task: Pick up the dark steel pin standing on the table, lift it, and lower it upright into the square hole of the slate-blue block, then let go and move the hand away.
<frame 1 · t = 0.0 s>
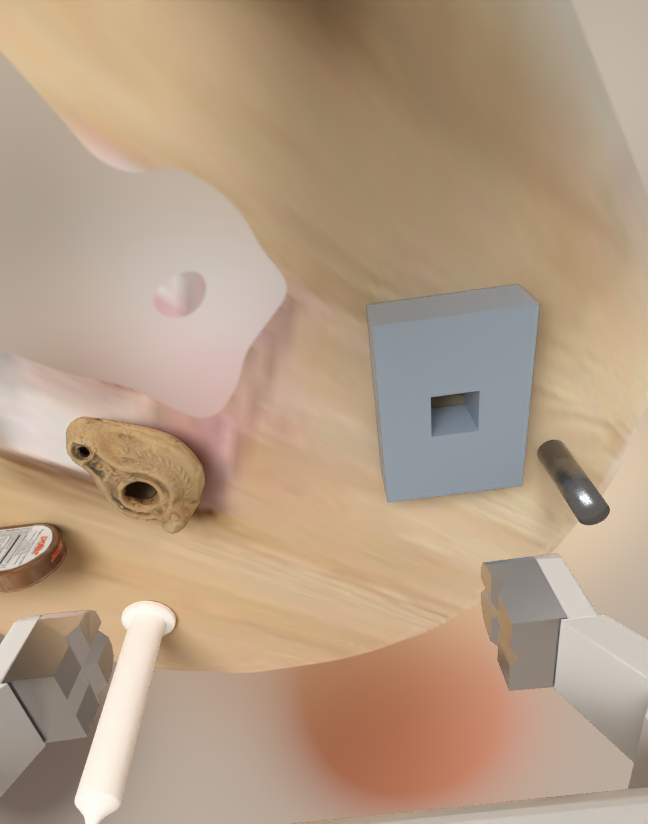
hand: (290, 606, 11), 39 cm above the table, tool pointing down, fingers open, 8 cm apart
candle: (150, 615, 71), on the table
peg: (551, 450, 58), on the table
hole block: (442, 388, 53), on the table
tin: (12, 530, 62), on the table
oil lamp: (144, 449, 56), on the table
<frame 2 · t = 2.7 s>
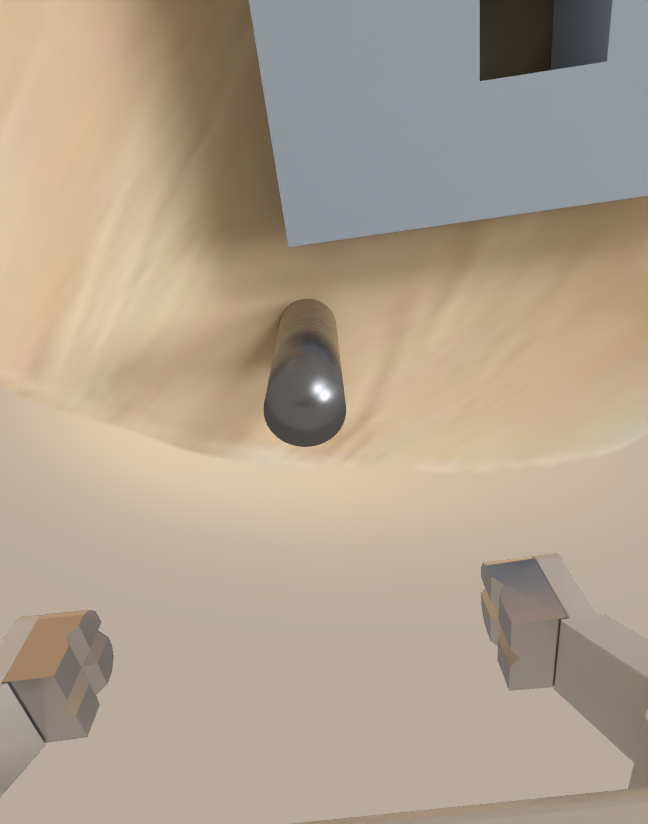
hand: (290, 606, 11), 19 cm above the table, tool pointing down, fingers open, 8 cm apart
peg: (307, 326, 28), on the table
hole block: (499, 24, 22), on the table
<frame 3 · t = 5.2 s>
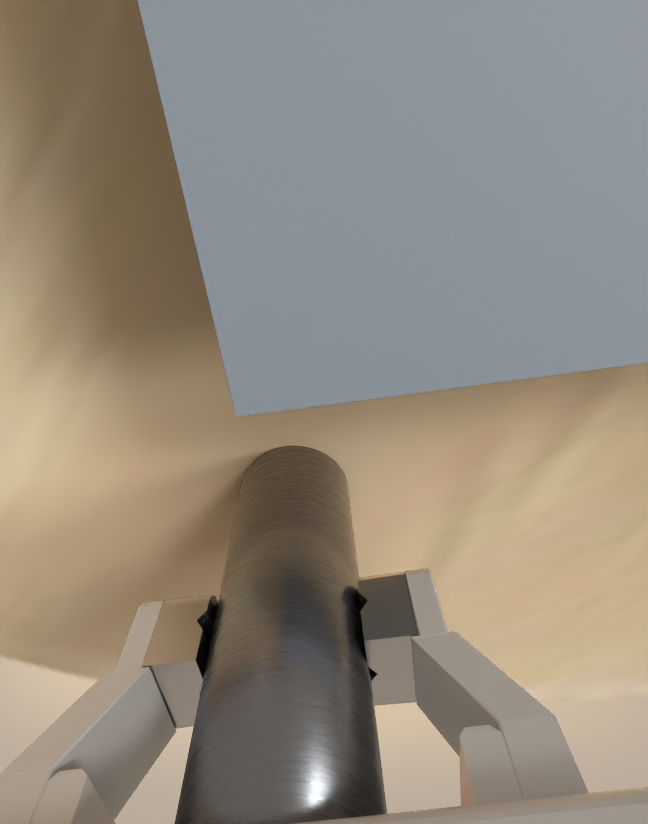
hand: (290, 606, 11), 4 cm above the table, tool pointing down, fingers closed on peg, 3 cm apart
peg: (294, 492, 15), on the table, touching gripper
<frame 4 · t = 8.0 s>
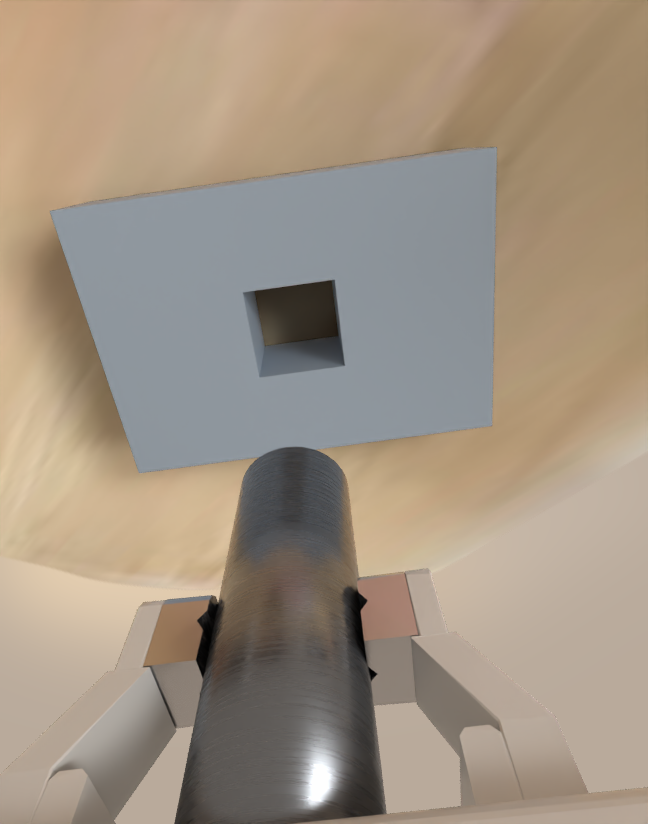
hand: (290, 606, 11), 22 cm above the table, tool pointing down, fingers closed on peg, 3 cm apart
peg: (294, 492, 15), point 18 cm above the table, touching gripper
hole block: (295, 304, 31), on the table
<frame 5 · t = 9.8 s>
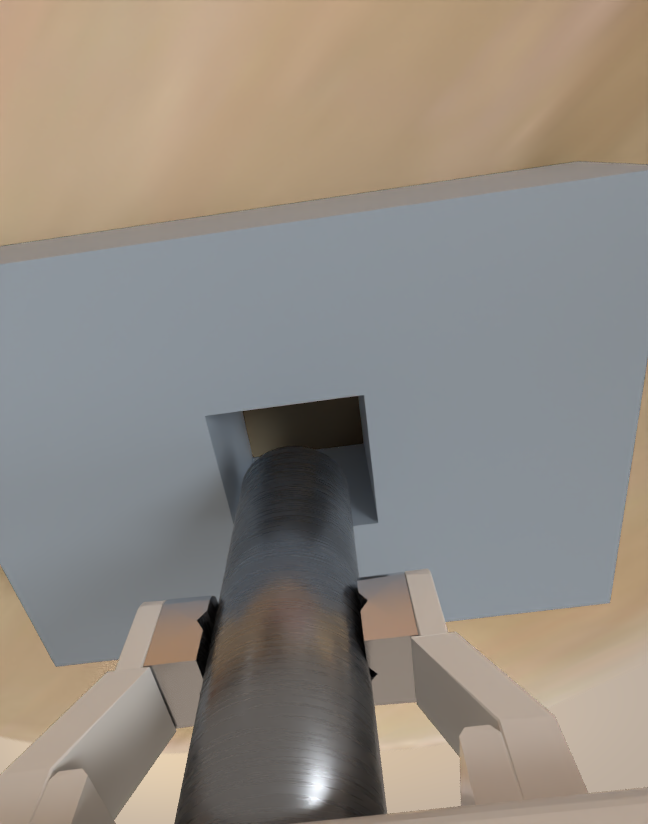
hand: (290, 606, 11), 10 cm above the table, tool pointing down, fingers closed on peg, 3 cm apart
peg: (295, 492, 15), point 6 cm above the table, touching gripper
hole block: (299, 400, 20), on the table
when the fingers open (7 cm above the table, at t = 11.2 s): peg drops 2 cm, resting in hole block.
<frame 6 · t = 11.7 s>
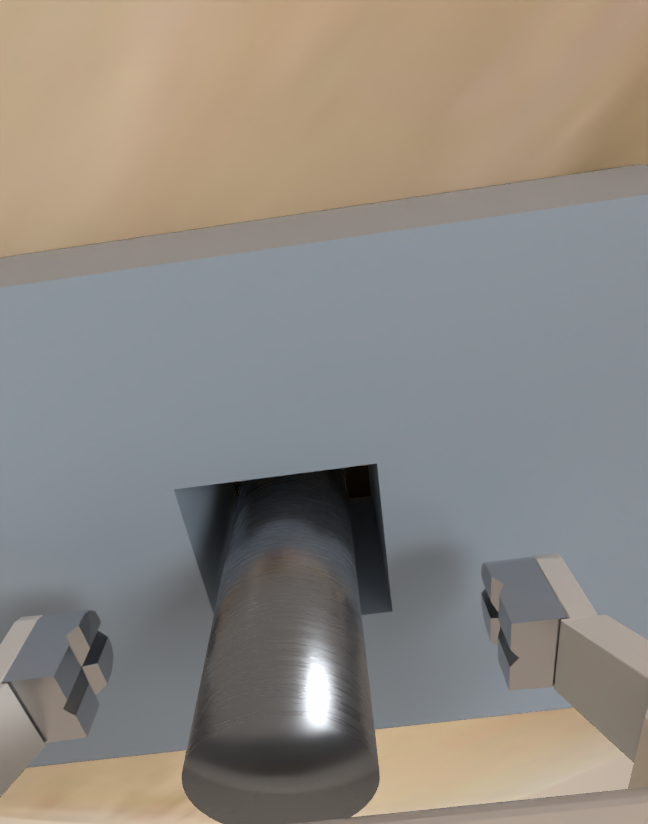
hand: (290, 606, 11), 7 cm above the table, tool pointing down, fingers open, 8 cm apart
peg: (295, 447, 17), resting in hole block
hole block: (295, 447, 17), on the table
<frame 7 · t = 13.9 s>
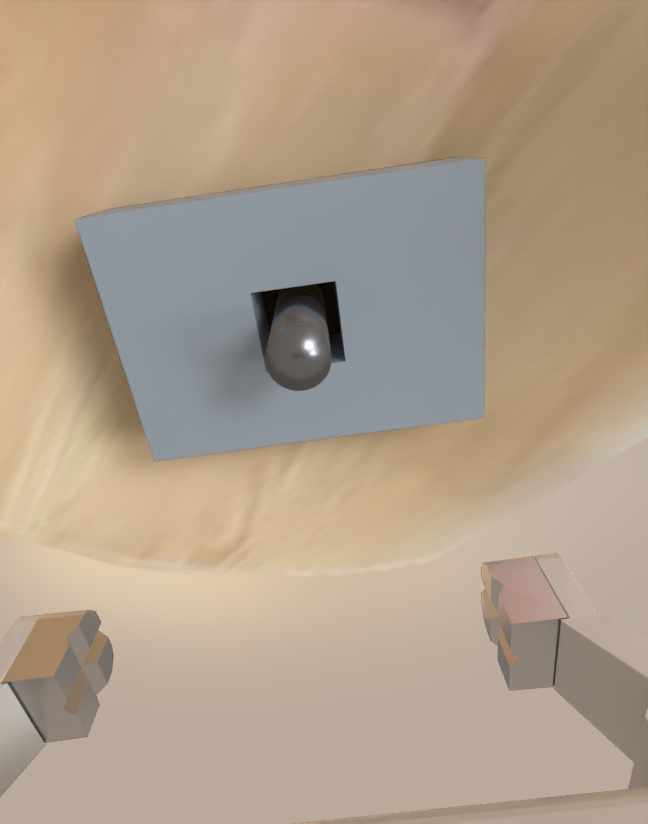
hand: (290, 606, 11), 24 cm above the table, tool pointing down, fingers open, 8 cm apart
peg: (300, 303, 33), resting in hole block
hole block: (300, 304, 33), on the table
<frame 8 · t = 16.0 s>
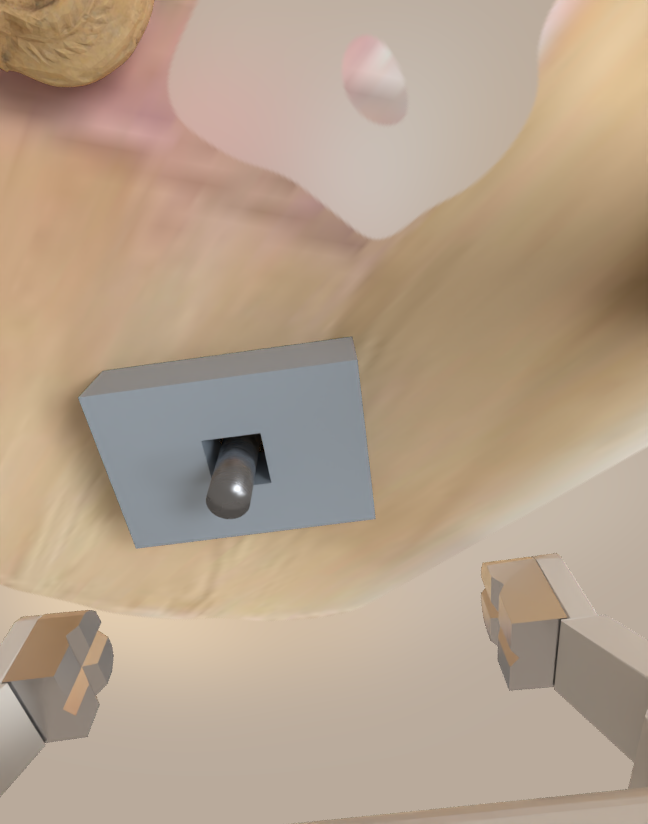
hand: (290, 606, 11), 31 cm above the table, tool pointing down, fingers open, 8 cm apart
peg: (244, 430, 44), resting in hole block
hole block: (244, 430, 44), on the table
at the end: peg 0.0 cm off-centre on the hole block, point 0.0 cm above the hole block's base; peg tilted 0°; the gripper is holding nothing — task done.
